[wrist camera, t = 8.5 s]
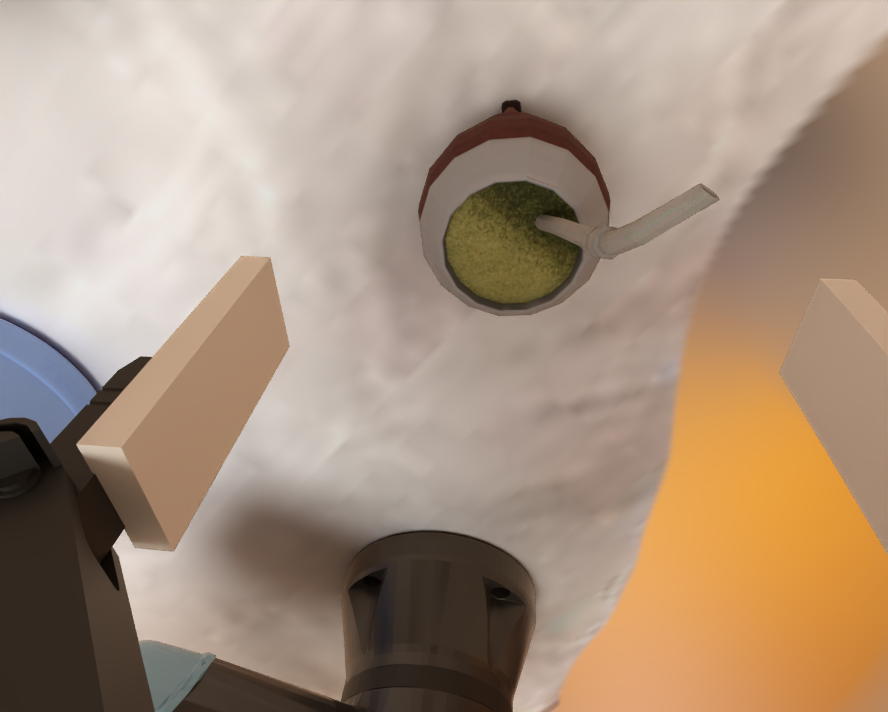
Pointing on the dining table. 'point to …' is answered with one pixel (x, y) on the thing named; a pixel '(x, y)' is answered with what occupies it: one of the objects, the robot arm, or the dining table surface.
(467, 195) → the mate gourd
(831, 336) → the robot arm
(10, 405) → the water jug
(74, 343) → the dining table surface
